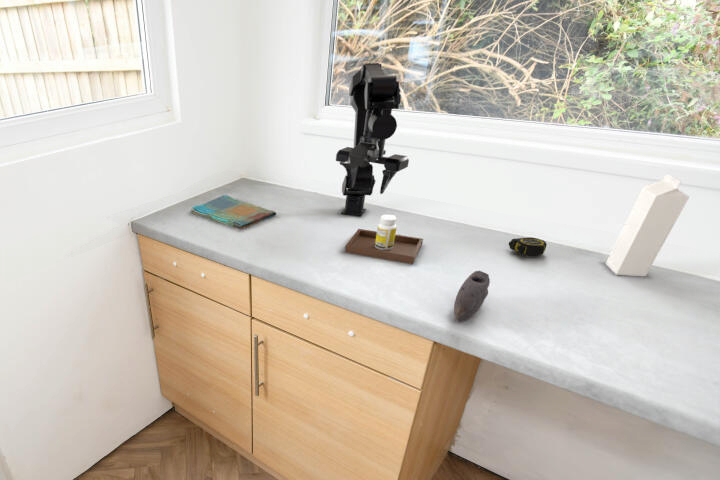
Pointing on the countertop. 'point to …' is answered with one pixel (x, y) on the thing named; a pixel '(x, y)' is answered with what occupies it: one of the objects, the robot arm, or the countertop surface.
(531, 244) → the tape measure
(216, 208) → the dish towel
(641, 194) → the milk
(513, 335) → the countertop surface
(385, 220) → the supplement bottle
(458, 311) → the perforated stone tool
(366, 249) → the tray
